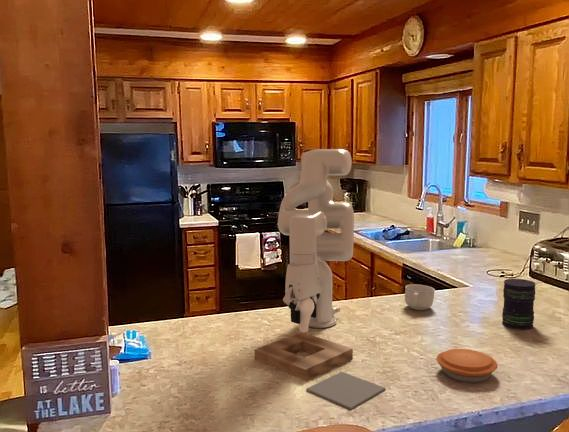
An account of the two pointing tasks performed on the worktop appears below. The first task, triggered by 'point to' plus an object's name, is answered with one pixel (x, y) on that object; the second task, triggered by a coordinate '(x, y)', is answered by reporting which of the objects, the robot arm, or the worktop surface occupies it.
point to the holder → (304, 368)
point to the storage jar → (518, 304)
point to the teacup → (419, 296)
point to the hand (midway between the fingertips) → (303, 319)
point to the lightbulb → (305, 313)
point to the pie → (466, 365)
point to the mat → (346, 390)
